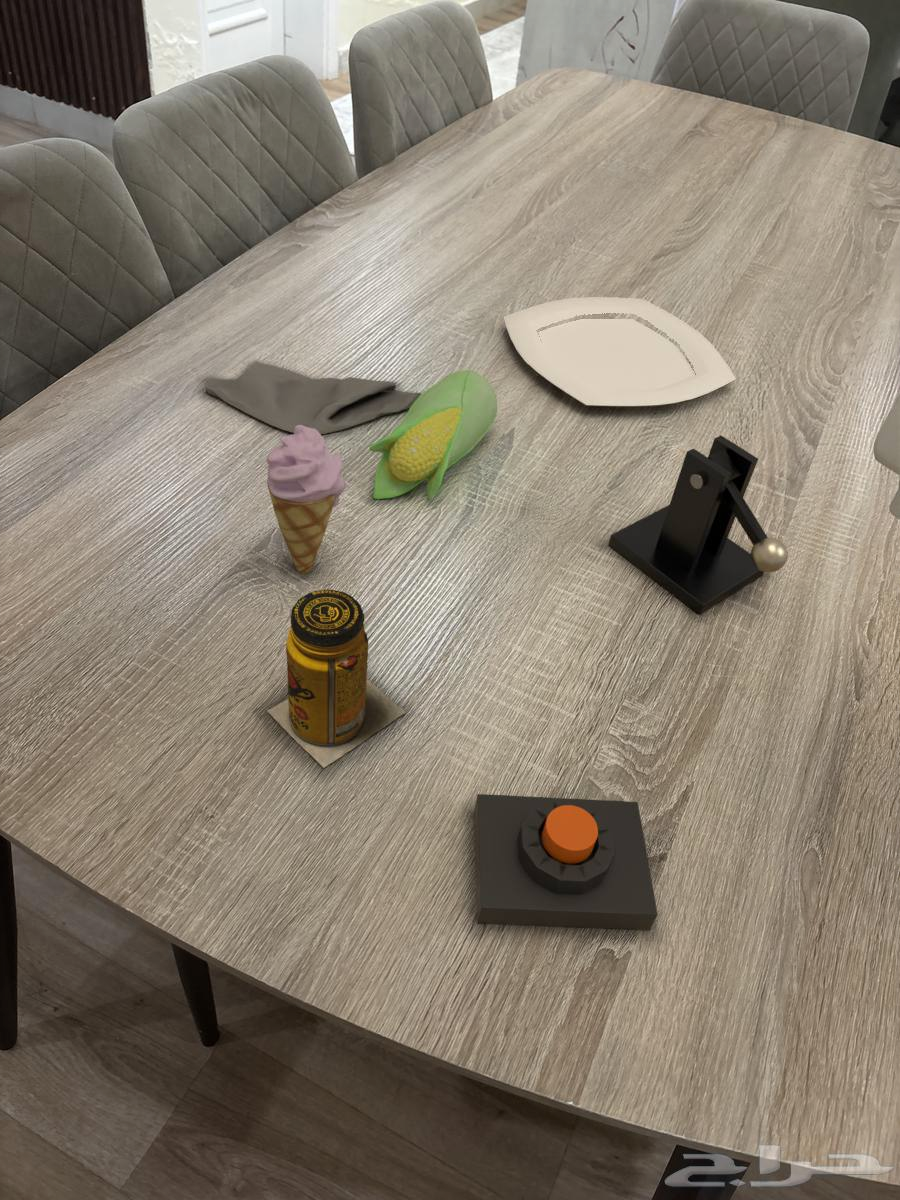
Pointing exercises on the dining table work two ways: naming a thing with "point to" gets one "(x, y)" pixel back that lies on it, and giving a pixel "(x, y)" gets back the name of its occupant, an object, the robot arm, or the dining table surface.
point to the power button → (569, 834)
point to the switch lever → (751, 522)
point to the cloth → (309, 398)
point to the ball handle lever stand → (694, 533)
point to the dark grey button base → (560, 867)
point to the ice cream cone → (304, 491)
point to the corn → (435, 434)
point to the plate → (617, 353)
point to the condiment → (330, 679)
